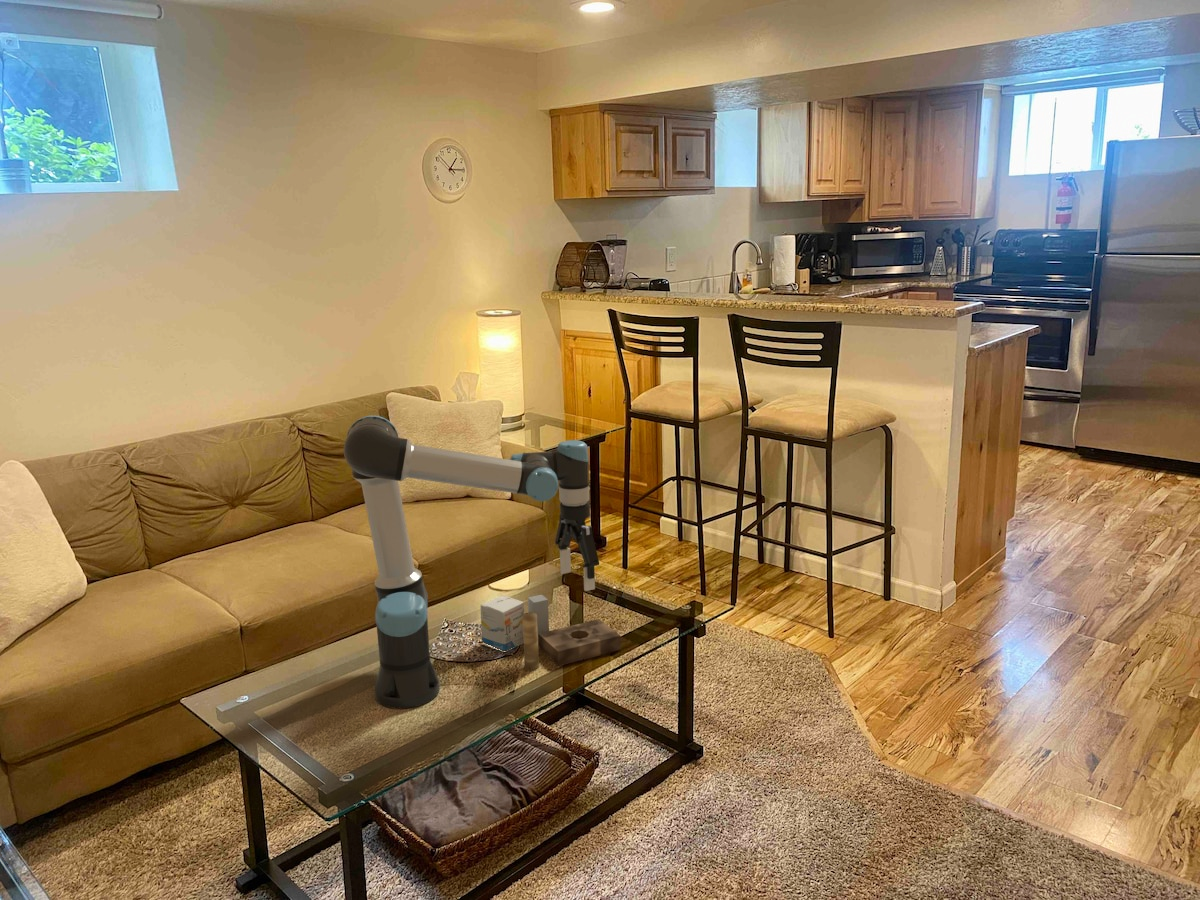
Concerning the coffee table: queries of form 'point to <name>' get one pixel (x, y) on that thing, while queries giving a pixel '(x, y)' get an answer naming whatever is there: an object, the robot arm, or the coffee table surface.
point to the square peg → (540, 612)
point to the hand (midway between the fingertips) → (577, 581)
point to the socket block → (579, 642)
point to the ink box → (502, 622)
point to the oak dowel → (530, 641)
